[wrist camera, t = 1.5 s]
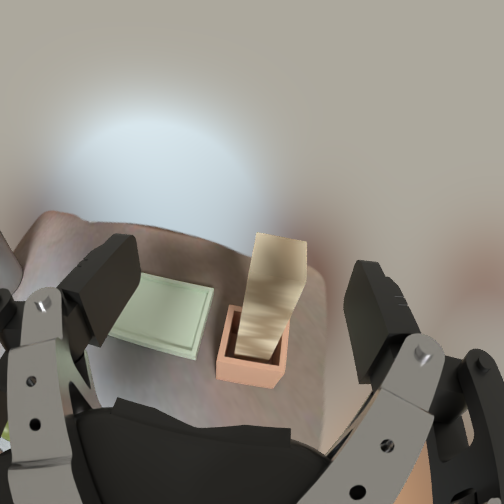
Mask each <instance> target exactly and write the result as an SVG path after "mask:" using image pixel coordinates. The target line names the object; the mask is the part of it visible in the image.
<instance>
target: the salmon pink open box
mask: <svg viewBox="0 0 504 504" xmlns="http://www.w3.org/2000/svg"><path fill="white" fill-rule="evenodd" d="M242 308H243V307H240V306H235V305H230V304H229V308H228V313H227V317H226V321H225V326H224V330H223V334H222V339H221V343H220V348H219V352H218V356H217V361H216V379H219V380H224V381H229V382H235V383H240V384H246V385H252V386H258V387H264V388H271V389H273V388H274V386H275V385H276V384H277V383H278V381H279V380H280V379H281V377H282V376H283V374H284V373H285V366H286V356H287V346H288V335H289V323H290V319H289V321H288V323H287V325H286V327H285V329H284V331H283V333H282V335H281V337H280V340H279V342H278V344H277V346H276V348H275V350H274V352H273V354H272V356H271V358H270V360H269V362H268V364H263V363H257V362H251V361H246V360H240V359H235V358H234V353H235V347H236V342H237V336H238V330H239V325H240V319H241V313H242Z"/></svg>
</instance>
